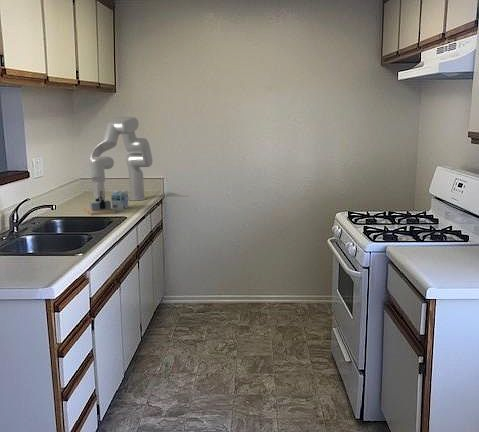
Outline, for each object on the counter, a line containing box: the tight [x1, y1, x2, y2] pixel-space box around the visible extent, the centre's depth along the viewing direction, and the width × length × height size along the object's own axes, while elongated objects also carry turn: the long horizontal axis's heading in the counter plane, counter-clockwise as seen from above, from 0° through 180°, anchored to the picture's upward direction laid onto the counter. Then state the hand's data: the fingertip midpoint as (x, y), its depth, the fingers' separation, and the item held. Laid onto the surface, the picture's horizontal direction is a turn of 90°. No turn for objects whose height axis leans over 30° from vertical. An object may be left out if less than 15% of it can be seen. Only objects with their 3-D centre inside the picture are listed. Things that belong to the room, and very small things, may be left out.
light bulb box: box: [110, 189, 129, 211], centre depth 344 cm, size 11×7×11 cm, turn 168°
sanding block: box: [89, 200, 112, 212], centre depth 331 cm, size 6×11×5 cm, turn 114°
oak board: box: [82, 206, 116, 216], centre depth 337 cm, size 22×14×2 cm, turn 27°
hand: (100, 207), depth 332 cm, fingers open, 9 cm apart
